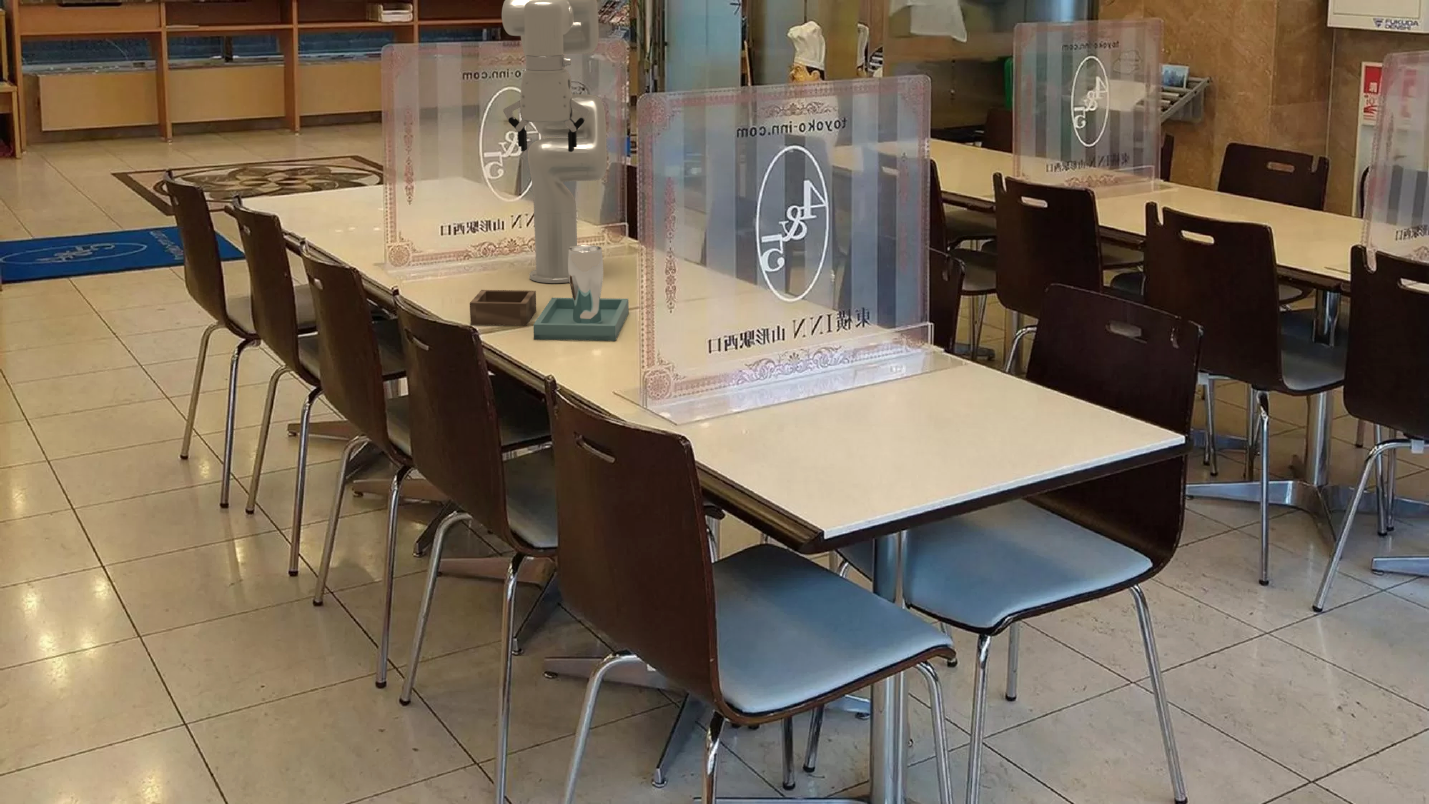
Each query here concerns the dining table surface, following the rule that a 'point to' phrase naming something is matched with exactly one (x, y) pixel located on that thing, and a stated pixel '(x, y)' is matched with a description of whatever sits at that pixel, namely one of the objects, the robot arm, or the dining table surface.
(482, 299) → the box
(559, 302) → the tray
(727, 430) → the dining table surface
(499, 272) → the dining table surface
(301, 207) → the dining table surface
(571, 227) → the robot arm
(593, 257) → the beer glass
